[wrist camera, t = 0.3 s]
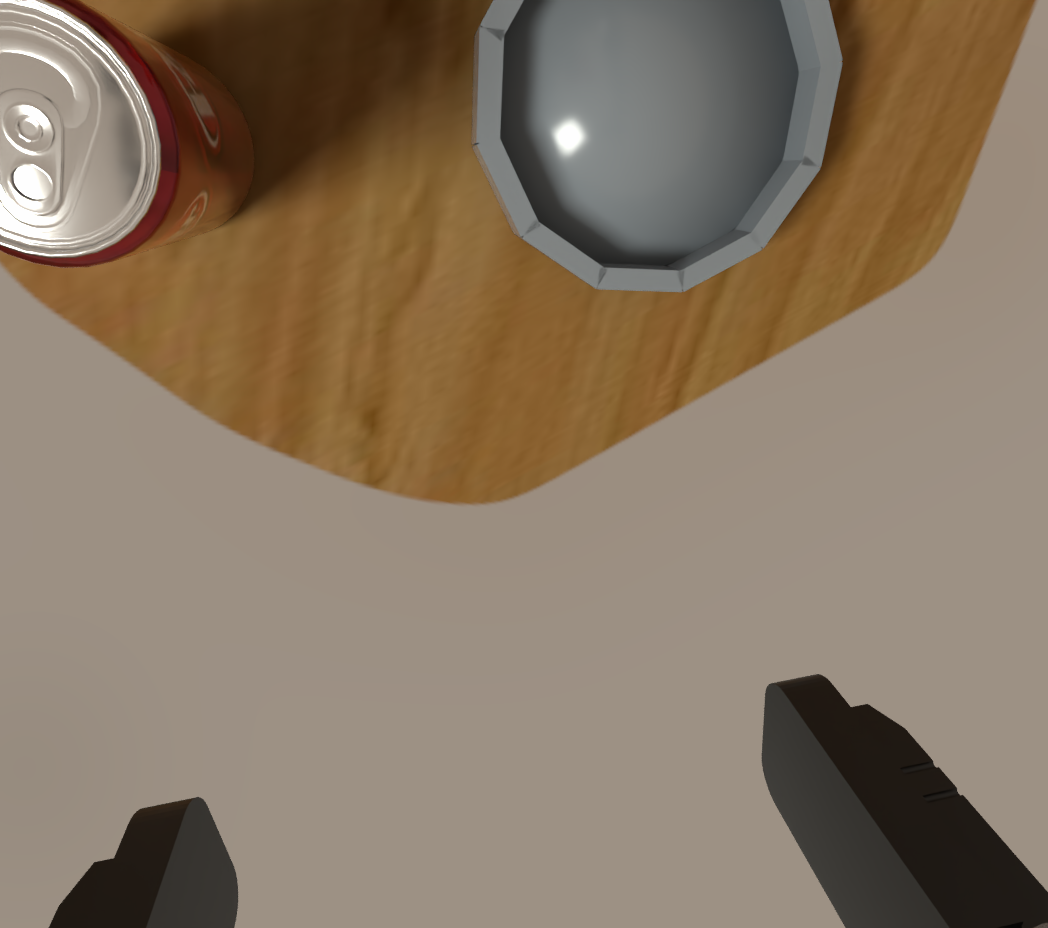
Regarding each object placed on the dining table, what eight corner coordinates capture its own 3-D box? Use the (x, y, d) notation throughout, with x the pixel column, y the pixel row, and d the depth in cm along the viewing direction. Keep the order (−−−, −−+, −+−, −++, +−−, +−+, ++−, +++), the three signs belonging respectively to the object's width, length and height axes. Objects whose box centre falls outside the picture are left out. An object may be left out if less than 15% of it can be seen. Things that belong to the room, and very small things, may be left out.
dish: (478, -135, 27) (484, -161, 25) (843, -85, 30) (877, -105, 28) (468, 277, 33) (472, 285, 31) (771, 288, 36) (794, 296, 34)
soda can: (79, 21, 27) (-138, -78, 16) (269, 83, 29) (187, 31, 18) (69, 208, 30) (-126, 230, 19) (245, 255, 32) (160, 299, 21)
